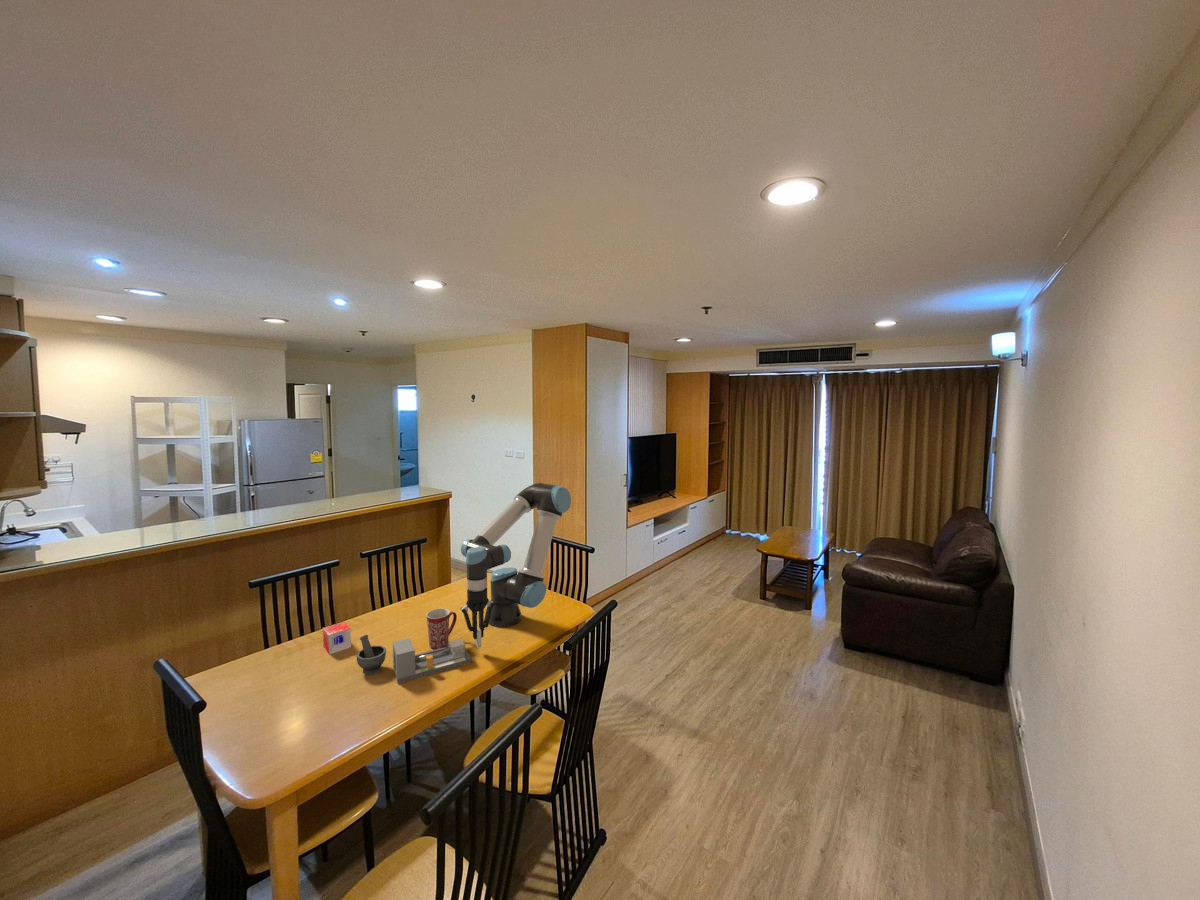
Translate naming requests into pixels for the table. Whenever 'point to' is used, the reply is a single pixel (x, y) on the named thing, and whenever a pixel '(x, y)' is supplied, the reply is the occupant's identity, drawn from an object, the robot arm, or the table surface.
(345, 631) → the toy block
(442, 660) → the bench
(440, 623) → the mug
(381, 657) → the mortar and pestle
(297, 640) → the table surface
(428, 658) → the tangerine cube
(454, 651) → the grey block with bar
